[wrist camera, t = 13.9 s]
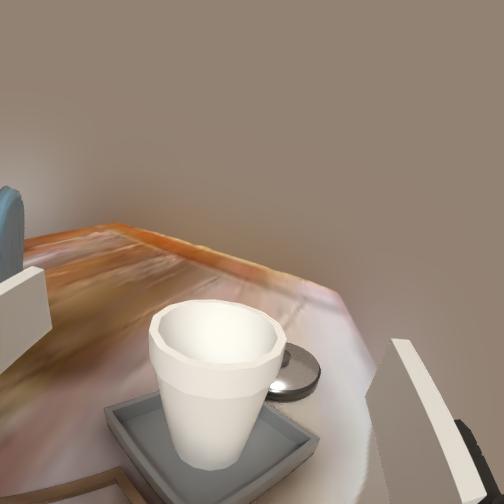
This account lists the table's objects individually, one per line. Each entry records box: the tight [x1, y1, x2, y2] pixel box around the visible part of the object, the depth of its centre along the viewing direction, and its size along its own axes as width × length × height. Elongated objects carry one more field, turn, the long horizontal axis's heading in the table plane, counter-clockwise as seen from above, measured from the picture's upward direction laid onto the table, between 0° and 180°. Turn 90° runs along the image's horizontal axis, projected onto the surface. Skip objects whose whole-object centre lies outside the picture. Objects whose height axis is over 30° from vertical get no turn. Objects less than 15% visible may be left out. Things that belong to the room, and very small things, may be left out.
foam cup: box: [149, 300, 287, 471], centre depth 23 cm, size 10×9×13 cm
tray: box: [104, 391, 320, 504], centre depth 24 cm, size 14×14×3 cm
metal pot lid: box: [265, 342, 321, 403], centre depth 37 cm, size 11×11×4 cm
